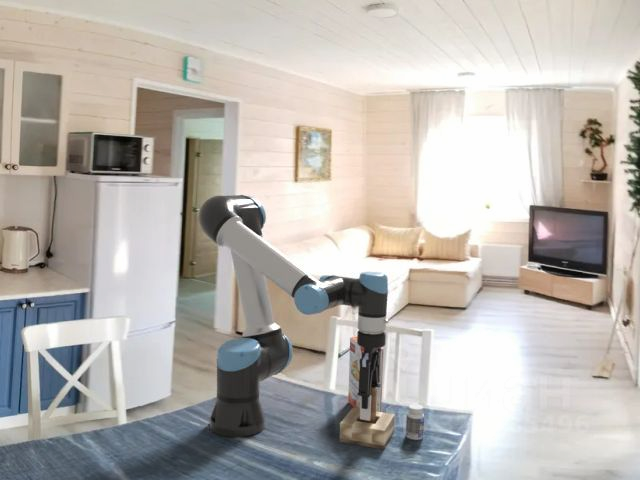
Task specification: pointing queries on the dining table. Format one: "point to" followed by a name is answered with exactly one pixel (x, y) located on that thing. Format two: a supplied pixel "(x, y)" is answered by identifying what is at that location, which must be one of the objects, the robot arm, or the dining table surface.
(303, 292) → the robot arm
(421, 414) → the pill bottle
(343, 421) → the bore block
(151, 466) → the dining table surface
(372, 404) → the pin
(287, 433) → the dining table surface
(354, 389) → the cracker box
